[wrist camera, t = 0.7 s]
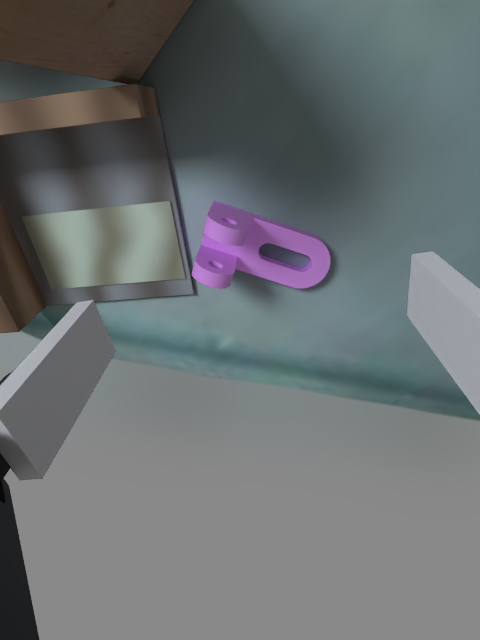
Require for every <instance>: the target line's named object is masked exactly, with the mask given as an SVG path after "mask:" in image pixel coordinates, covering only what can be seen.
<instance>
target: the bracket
mask: <svg viewBox="0 0 480 640" xmlns="http://www.w3.org/2000/svg"><path fill="white" fill-rule="evenodd" d="M265 243H271V244H274V245H277V246H280V247H283V248H286V249H289V250H292V251H295V252H298V253H301V254H304V255H307V256H309V257H310V261H309V263H308V264H307V265H306V266H304V267H296V266H293V265H290V264H287V263H284V262H281V261H278V260H275V259H272V258H269V257H266V256H263V255H261V254H260V252H259V248H260V247H261V246H262V245H263V244H265ZM329 267H330V254H329V251H328V249H327V247H326V245H325V244H324V242H323V241H322V240H321V239H320V238H319V237H317V236H315V235H313V234H310V233H308V232H305V231H302V230H299V229H296V228H293V227H290V226H287V225H284V224H281V223H278V222H275V221H272V220H269V219H266V218H264V217H261V216H258V215H255V214H252V213H249V212H246V211H243V210H240V209H237V208H234V207H231V206H228V205H225V204H222V203H220V202H217V201H214V202H213V204H212V206H211V208H210V210H209V213H208V216H207V219H206V223H205V226H204V237H203V240H202V244H201V247H200V249H199V252H198V254H197V256H196V259H195V263H194V267H193V270H192V276H193V277H194V278H195V279H196V280H197V281H198V282H200V283H202V284H204V285H206V286H209V287H212V288H220V289H221V288H227V287H229V286H230V284H231V281H232V278H233V275H234V272H235V270H239V271H242V272H246V273H249V274H252V275H255V276H258V277H261V278H265V279H268V280H271V281H274V282H277V283H280V284H283V285H287V286H290V287H293V288H308V287H311V286H314V285H316V284H317V283H319V282H320V281H321V280H322V279H323V278H324V277H325V276H326V274H327V272H328V270H329Z"/></svg>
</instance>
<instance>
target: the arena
mask: <svg viewBox="0 0 480 640" xmlns="http://www.w3.org/2000/svg"><path fill="white" fill-rule="evenodd" d="M188 294H194V288H193V283H192V278H191V273H190V267H189V262H188V257H187V252H186V247H185V241H184V236H183V231H182V226H181V221H180V215H179V210H178V205H177V200H176V195H175V189H174V184H173V179H172V174H171V168H170V163H169V158H168V153H167V148H166V142H165V137H164V132H163V127H162V122H161V116H160V111H159V106H158V101H157V96H156V90H155V88H152V87H147V86H142V85H137V84H129V85H122V86H114V87H107V88H100V89H92V90H85V91H77V92H70V93H62V94H55V95H48V96H40V97H33V98H25V99H18V100H10V101H3V102H0V333H9V332H19V331H20V330H21V329H23V328H24V327H25V326H26V325H27V324H28V323H29V322H30V321H31V320H32V319H33V318H34V317H35V316H36V315H37V314H38V313H40V312H41V311H42V310H43V309H44V308H45V307H46V306H48V305H61V304H74V303H77V302H82V301H89V300H94V302H99V301H112V300H125V299H137V298H150V297H163V296H176V295H188Z"/></svg>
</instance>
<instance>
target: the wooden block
mask: <svg viewBox="0 0 480 640" xmlns="http://www.w3.org/2000/svg"><path fill="white" fill-rule="evenodd" d="M193 1H194V0H0V60H5V61H10V62H15V63H20V64H25V65H31V66H36V67H41V68H46V69H52V70H57V71H62V72H67V73H73V74H78V75H83V76H88V77H93V78H99V79H104V80H109V81H114V82H120V83H125V84H134V83H135V82H137V81H139V80H140V79H141V77H142V76H143V74H144V73H145V71H146V70H147V68H148V67H149V65H150V64H151V63H152V61H153V60H154V58H155V57H156V55H157V54H158V52H159V51H160V49H161V48H162V46H163V45H164V43H165V42H166V41H167V39H168V38H169V36H170V35H171V33H172V32H173V30H174V29H175V27H176V26H177V24H178V23H179V22H180V20H181V19H182V17H183V16H184V14H185V13H186V11H187V10H188V8H189V7H190V5H191V4H192V2H193Z"/></svg>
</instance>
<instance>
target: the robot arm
mask: <svg viewBox="0 0 480 640" xmlns="http://www.w3.org/2000/svg"><path fill="white" fill-rule="evenodd" d="M407 316H408V318H409V319H410V320H411V322H412V323H413V324H414V326H415V327H416V328H417V330H418V331H419V333H420V334H421V335H422V337H423V338H424V339H425V341H426V342H427V344H428V345H429V346H430V348H431V349H432V350H433V352H434V353H435V354H436V356H437V357H438V359H439V360H440V361H441V363H442V364H443V365H444V367H445V368H446V370H447V371H448V372H449V374H450V375H451V376H452V378H453V379H454V380H455V382H456V383H457V385H458V386H459V387H460V389H461V390H462V391H463V393H464V394H465V395H466V397H467V398H468V400H469V401H470V402H471V404H472V405H473V406H474V408H475V409H476V411H477V412H478V413H479V415H480V289H479V288H477V287H476V286H475V285H474V284H472V283H471V282H470V281H469V280H467V279H466V278H465V277H464V276H462V275H461V274H460V273H459V272H458V271H456V270H455V269H454V268H453V267H451V266H450V265H449V264H448V263H446V262H445V261H444V260H443V259H441V258H440V257H439V256H438V255H436V254H435V253H434V252H433V251H432V252H425V253H418V254H412V258H411V271H410V284H409V297H408V310H407ZM115 352H116V351H115V349H114V346H113V344H112V342H111V339H110V337H109V335H108V332H107V330H106V328H105V325H104V323H103V321H102V318H101V316H100V314H99V311H98V309H97V307H96V304H95V302H94V300H89V301H82V302H77V303H76V304H75V305H74V306H73V307H72V308H71V309H70V310H69V311H68V313H67V314H66V315H65V316H64V317H63V318H62V319H61V320H60V321H59V322H58V323H57V324H56V326H55V327H54V328H53V329H52V330H51V331H50V332H49V333H48V334H47V335H46V336H45V338H44V339H43V340H42V341H41V342H40V343H39V344H38V345H37V346H36V347H35V348H34V349H33V351H32V352H31V353H30V354H29V355H28V356H27V357H26V358H25V359H24V361H22V362H21V364H20V365H19V366H18V367H17V368H16V369H15V370H13V371H12V372H11V373H9V374H8V375H6V376H5V377H4V378H3V379H2V380H1V381H0V640H39V636H38V632H37V626H36V621H35V616H34V610H33V606H32V600H31V595H30V590H29V585H28V580H27V575H26V570H25V565H24V560H23V555H22V550H21V545H20V540H19V535H18V529H17V525H16V519H15V514H14V509H13V504H12V499H11V494H10V489H9V485H8V484H7V482H6V481H5V480H4V479H3V478H4V476H5V475H6V473H7V472H8V471H9V469H10V468H11V469H12V471H13V472H14V473H15V474H16V476H17V477H18V478H19V480H30V479H43V477H44V475H45V473H46V472H47V470H48V468H49V466H50V465H51V463H52V461H53V459H54V458H55V456H56V454H57V452H58V451H59V449H60V447H61V446H62V444H63V442H64V440H65V439H66V437H67V435H68V433H69V432H70V430H71V428H72V427H73V425H74V423H75V421H76V419H77V418H78V416H79V414H80V413H81V411H82V409H83V407H84V406H85V404H86V402H87V400H88V399H89V397H90V395H91V394H92V392H93V390H94V388H95V387H96V385H97V383H98V381H99V380H100V378H101V376H102V374H103V373H104V371H105V369H106V368H107V366H108V364H109V362H110V361H111V359H112V357H113V355H114V354H115Z"/></svg>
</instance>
